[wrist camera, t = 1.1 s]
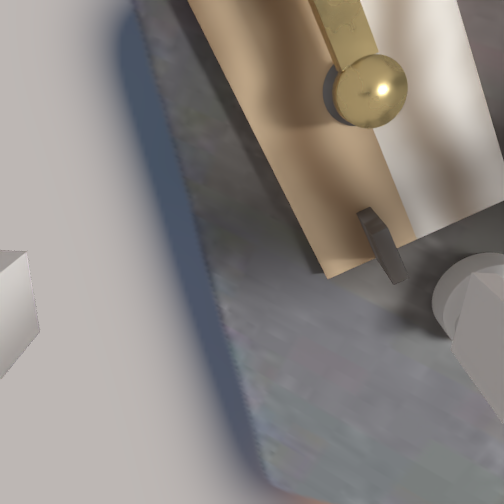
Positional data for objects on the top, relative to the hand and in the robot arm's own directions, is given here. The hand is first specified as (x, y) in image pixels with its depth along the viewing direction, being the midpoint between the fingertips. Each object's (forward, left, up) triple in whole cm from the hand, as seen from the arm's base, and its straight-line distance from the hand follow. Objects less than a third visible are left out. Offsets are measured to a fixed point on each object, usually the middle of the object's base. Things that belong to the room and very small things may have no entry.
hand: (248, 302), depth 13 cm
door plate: (-9, -1, -23) cm, 25 cm away
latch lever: (-9, -6, -21) cm, 23 cm away
